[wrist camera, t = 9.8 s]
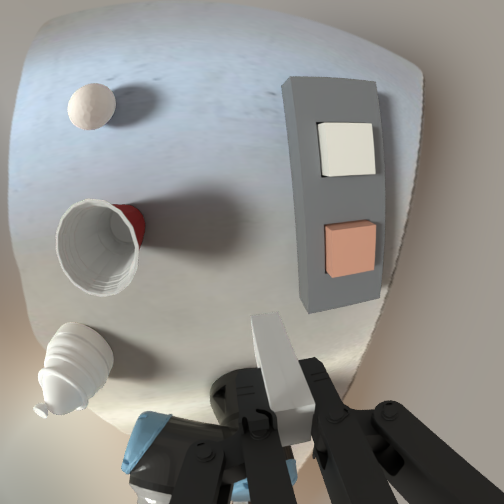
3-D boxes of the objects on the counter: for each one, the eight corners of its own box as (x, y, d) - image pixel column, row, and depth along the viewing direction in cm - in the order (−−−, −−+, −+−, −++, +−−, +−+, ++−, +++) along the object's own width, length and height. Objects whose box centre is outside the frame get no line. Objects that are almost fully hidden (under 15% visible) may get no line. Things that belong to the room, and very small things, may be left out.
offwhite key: (360, 171, 34) (375, 174, 30) (317, 173, 34) (329, 176, 30) (357, 125, 32) (371, 123, 28) (313, 125, 32) (324, 122, 28)
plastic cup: (140, 171, 34) (106, 179, 23) (175, 239, 38) (157, 274, 27) (82, 207, 34) (38, 229, 23) (116, 269, 38) (85, 309, 27)
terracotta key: (361, 259, 39) (374, 269, 35) (322, 266, 38) (332, 277, 35) (362, 217, 37) (376, 224, 33) (320, 222, 36) (331, 230, 32)
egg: (100, 140, 32) (73, 139, 24) (77, 113, 30) (48, 107, 22) (131, 107, 31) (110, 97, 23) (106, 81, 29) (83, 67, 21)
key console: (365, 284, 44) (379, 298, 39) (299, 297, 43) (308, 313, 39) (358, 88, 33) (375, 81, 28) (281, 85, 32) (290, 76, 27)
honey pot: (61, 361, 43) (29, 422, 27) (54, 313, 40) (7, 375, 23) (114, 380, 46) (92, 450, 29) (113, 333, 42) (79, 410, 25)
